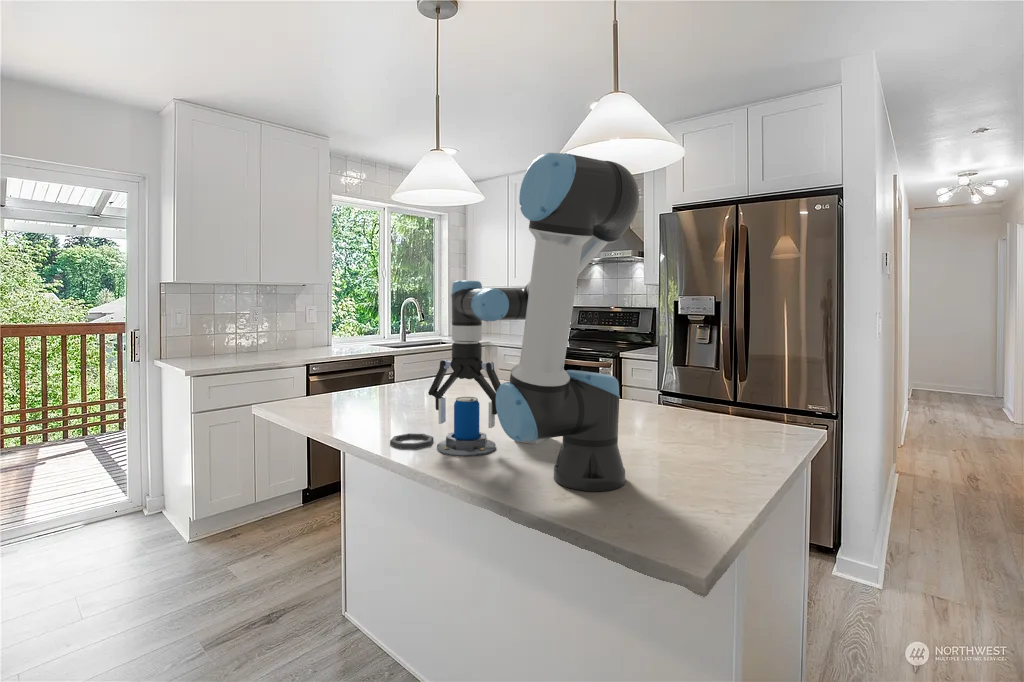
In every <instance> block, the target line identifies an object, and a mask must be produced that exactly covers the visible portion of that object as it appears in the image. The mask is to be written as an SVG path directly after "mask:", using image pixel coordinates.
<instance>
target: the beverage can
mask: <svg viewBox="0 0 1024 682" xmlns="http://www.w3.org/2000/svg"><path fill="white" fill-rule="evenodd" d="M453 403H454V404H453V432H454V438H456V439H459V440H472V439H476V438H479V432H480V402H479V398H477V397H475V396H461V397H460V396H459V397H456V398H455V401H454V402H453Z"/></svg>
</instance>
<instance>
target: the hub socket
mask: <svg viewBox="0 0 1024 682" xmlns="http://www.w3.org/2000/svg"><path fill="white" fill-rule="evenodd" d="M496 447H497V445H496V442H494V441H493V440H490V439H488V437H487V433H484V432H480V431H479V438H476V439H472V440H459V439H456V438H454V431H453V432H448V434H446V436H445V440H442V441H439V442H438V443H437V444H436V450H437V451H438V453H441V454H443V455H447V456H451V457H462V458H466V457H467V458H468V457H478V456H483V455H484V456H485V455H488V454H490V453H492V452H495V450H496Z"/></svg>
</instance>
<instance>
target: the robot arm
mask: <svg viewBox="0 0 1024 682" xmlns="http://www.w3.org/2000/svg"><path fill="white" fill-rule="evenodd" d="M639 191H640V190H639V187H638V184H637V181H636V179H635V177H634V175H633V174H632V173H631V172H630V171H629V169H627V167H626V166H623V165H621V164H620V163H617V162H616V161H615V162H614V161H610V160H602V159H596V158H592V157H586V156H582V155H576V154H572V153H571V154H570V153H567V152H565V153H561V152H547V153H543V154H541V155H539V156H538V157H537V158H535V159H534V160H533V161H532V163H531V164H530V165H529V166H528V168H527V170H526V171H525V173H524V176H523V179H522V182H521V183H520V190H519V197H518V198H519V206H520V209H519V210H520V211H521V214H522V215H523V216H524V217H525V218H526V219H527V220H528V221H529V225H528V231H530V233H531V234H532V236H533V237H534V240H535V243H534V250H533V258H532V264H531V265H532V266H531V272H530V273H531V275H530V281H529V282H528V284H526V286H525V287H524V288H496V287H483V284H482V282H481V281H479V280H455V281H454V282H453V283H452V284H451V285H452V288H451V294H450V295H451V296H450V297H451V341H453V342H452V344H451V360H448V359H442V360H440V362H439V368H438V371H437V373H436V375H435V377H434V379H433V382H432V383H431V386H430V388H429V390H428V396H433V397H434V399H435V410H436V411H438V424H439V425H442V424H444V423H446V420H447V419H446V417H447V416H446V414H447V413H446V405H447V403H446V402H447V401H446V399H447V398H446V396H444V395H445V394H446V393H447V391H448V389H450V388H451V386H452V385H453V384H454V383H455V381H457V379H458V378H459V380H464V379H466V380H472V379H473V380H474V381H475V382H476V383H477V384H478V385H479V386H480V387H481V389H482V390H483V391H484V393H485V394H486V396H488V399H490V401H489V402H488V424H487V425H488V429H492V428H494V427H495V426H496V423H495V422H496V416H497V418H498V421H499V423H500V426H501V428H502V430H503V431H504V433H505V434H506V435H507V436H508V437H509V438H510V439H511V440H513V441H514V440H515V441H514V442H516V441H536V440H539V439H546V438H548V439H552V438H559V437H562V441H561V442H562V444H561V446H560V449H559V452H558V455H557V458H556V462H555V463H554V467H553V479H554V481H555V482H556V483H557V484H559V485H561V486H563V487H566V488H568V489H572V490H578V491H583V492H584V491H585V492H604V491H605V492H606V491H613V490H616V489H619V488H622V487H623V486H624V485H625V483H626V470H625V467H624V463H623V460H622V455H621V453H620V449H619V418H620V417H619V413H620V412H619V411H620V410H619V409H620V398H621V396H620V385H619V384H620V383H619V380H618V379H617V378H616V376H613V375H610V374H605V373H599V372H591V371H584V370H576V369H567V370H565V368H564V367H565V362H566V356H567V349H568V348H567V347H568V342H569V335H570V330H571V323H572V318H573V317H572V316H573V315H572V314H573V309H574V302H575V297H576V291H577V290H576V289H577V284H578V276H579V275H580V274H581V273H582V271H583V270H585V268H586V267H587V266H588V265H589V264H590V263H591V262H592V261H593V259H594V258H596V256H597V255H598V254H599V253H600V252H601V251H602V250H603V249H604V248H605V247H606V246H607V244H610V243H611V244H612V243H615V242H617V241H618V240H620V238H621V237H622V236H623V235H624V234H625V232H626V231H627V230H628V229H629V228H630V226H631V224H632V223H633V222H634V219H635V218H636V215H637V212H638V209H639V204H640V203H639V202H640V193H639ZM518 320H519V321H520V320H521V321H524V327H523V334H522V335H523V336H522V345H521V351H520V359H519V363H517V364H516V365H514V366H513V367H512V368H511V369H510V375H509V376H510V377H509V381H506V382H503V383H501V381H500V380H499V377H498V375H497V373H496V371H495V364H494V362H493V361H489V362H483V361H482V355H483V353H482V350H483V349H482V343H481V341H482V337H483V336H482V334H483V331H482V329H483V328H482V327H483V325H482V324H483V323H482V322H483V321H484V322H496V321H518ZM450 368H451V369H452V370H453V372H452V373H451V374H450V375H449V376H448V378H447V379H446V381H445V382H444V383H443V379H444V378H445V375H446V374H447V371H448V369H450ZM483 369H484V371H485V372H486V374H487V376H488V379H489V381H490V383H491V384H489V382H488V381H487V379H486V378H485V376H484V374H482V372H481V371H482V370H483ZM442 383H443V384H442ZM441 384H442V386H441ZM439 387H440V388H439ZM546 440H547V439H546Z"/></svg>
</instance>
